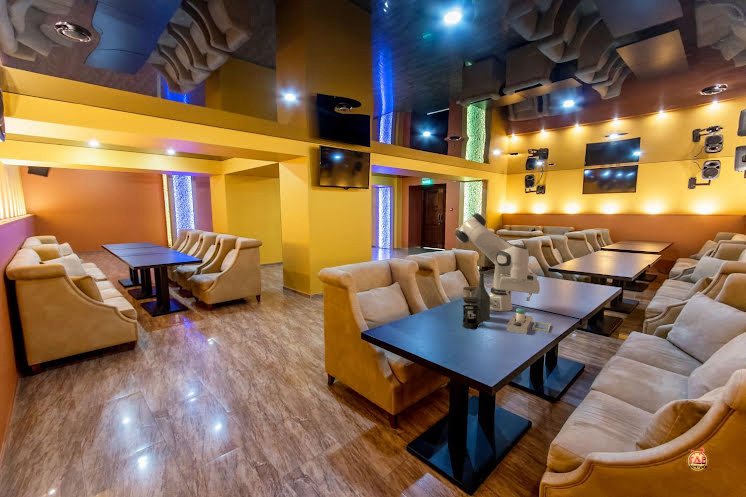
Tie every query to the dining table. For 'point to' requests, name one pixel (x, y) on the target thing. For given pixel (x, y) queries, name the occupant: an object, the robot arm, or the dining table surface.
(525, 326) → the white slotted holder
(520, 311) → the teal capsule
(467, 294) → the plant pot
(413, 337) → the dining table surface
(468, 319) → the french press
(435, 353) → the dining table surface
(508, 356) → the dining table surface
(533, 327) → the tray
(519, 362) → the dining table surface
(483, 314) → the bottle
